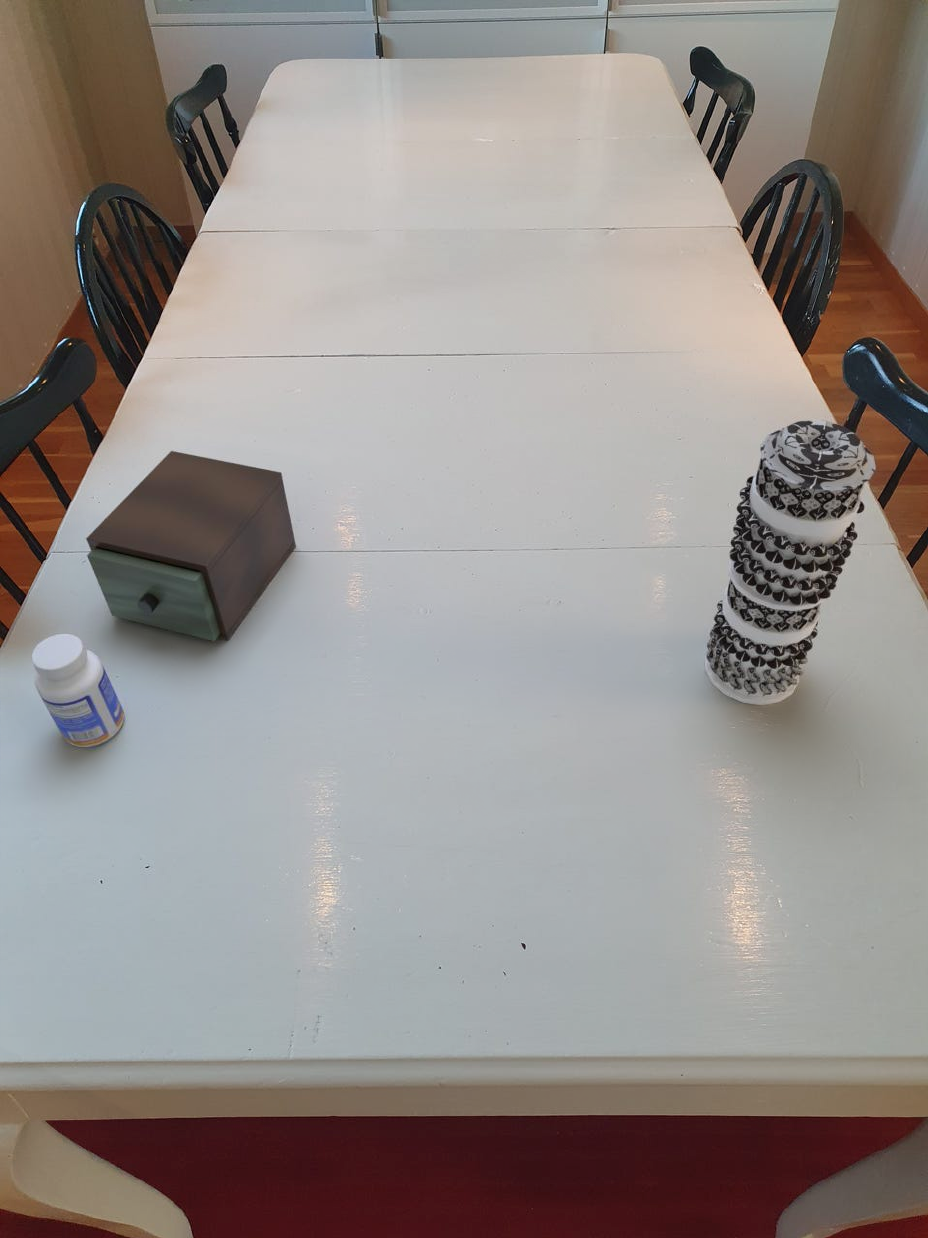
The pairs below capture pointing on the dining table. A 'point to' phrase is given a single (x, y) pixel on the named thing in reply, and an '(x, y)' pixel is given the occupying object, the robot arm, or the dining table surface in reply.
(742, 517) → the decorative candle
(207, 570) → the cabinet
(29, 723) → the dining table surface
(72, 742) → the pill bottle
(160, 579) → the drawer
